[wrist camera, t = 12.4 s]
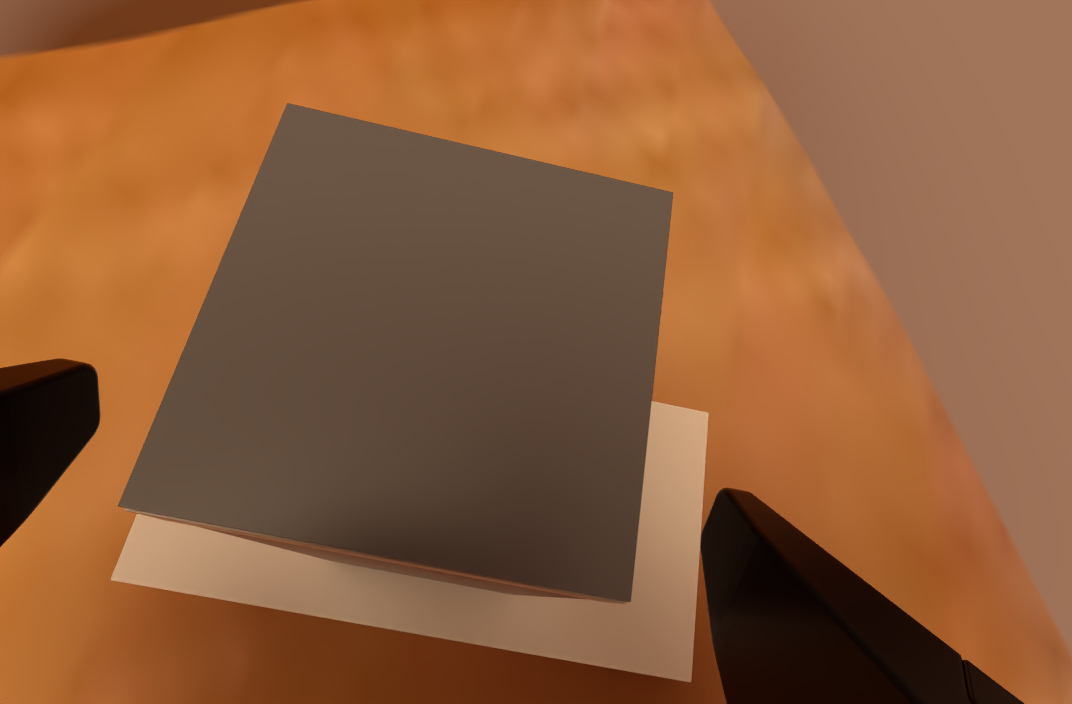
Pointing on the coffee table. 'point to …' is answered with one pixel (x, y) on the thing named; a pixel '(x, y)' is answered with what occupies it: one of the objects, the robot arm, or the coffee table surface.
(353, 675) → the coffee table surface
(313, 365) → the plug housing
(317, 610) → the board
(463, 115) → the coffee table surface
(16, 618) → the coffee table surface
